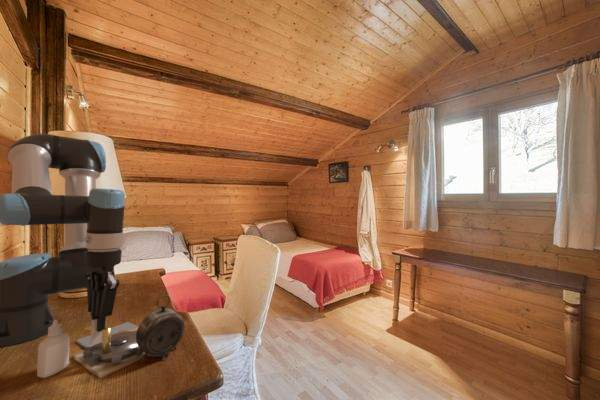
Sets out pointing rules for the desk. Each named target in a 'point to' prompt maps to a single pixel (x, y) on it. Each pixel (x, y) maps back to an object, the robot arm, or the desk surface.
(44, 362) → the eye dropper bottle
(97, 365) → the plate
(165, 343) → the alarm clock
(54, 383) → the desk surface
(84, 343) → the pad
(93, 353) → the sprocket
